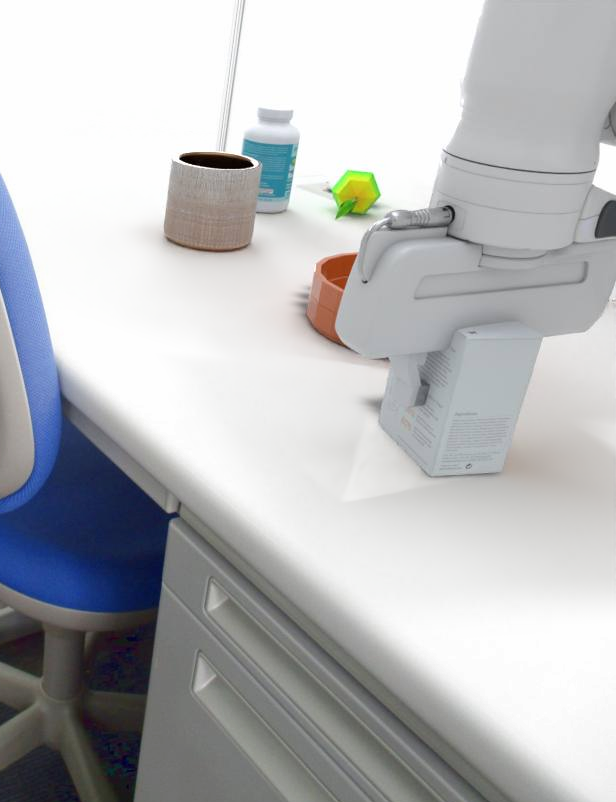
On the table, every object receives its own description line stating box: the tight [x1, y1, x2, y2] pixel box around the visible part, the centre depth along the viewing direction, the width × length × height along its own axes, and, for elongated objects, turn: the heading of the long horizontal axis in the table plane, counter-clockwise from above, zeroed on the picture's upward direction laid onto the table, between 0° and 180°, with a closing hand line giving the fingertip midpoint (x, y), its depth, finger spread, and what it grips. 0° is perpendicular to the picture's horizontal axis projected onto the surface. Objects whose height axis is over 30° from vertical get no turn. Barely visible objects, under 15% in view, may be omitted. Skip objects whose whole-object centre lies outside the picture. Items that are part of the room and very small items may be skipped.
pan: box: [306, 251, 389, 359], centre depth 83 cm, size 16×16×5 cm
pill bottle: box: [240, 104, 301, 214], centre depth 119 cm, size 8×7×14 cm
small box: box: [377, 321, 544, 478], centre depth 61 cm, size 8×6×10 cm
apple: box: [330, 169, 382, 221], centre depth 120 cm, size 7×6×9 cm
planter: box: [163, 150, 262, 252], centre depth 105 cm, size 11×11×10 cm
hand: (450, 397), depth 62 cm, fingers closed on small box, 6 cm apart
